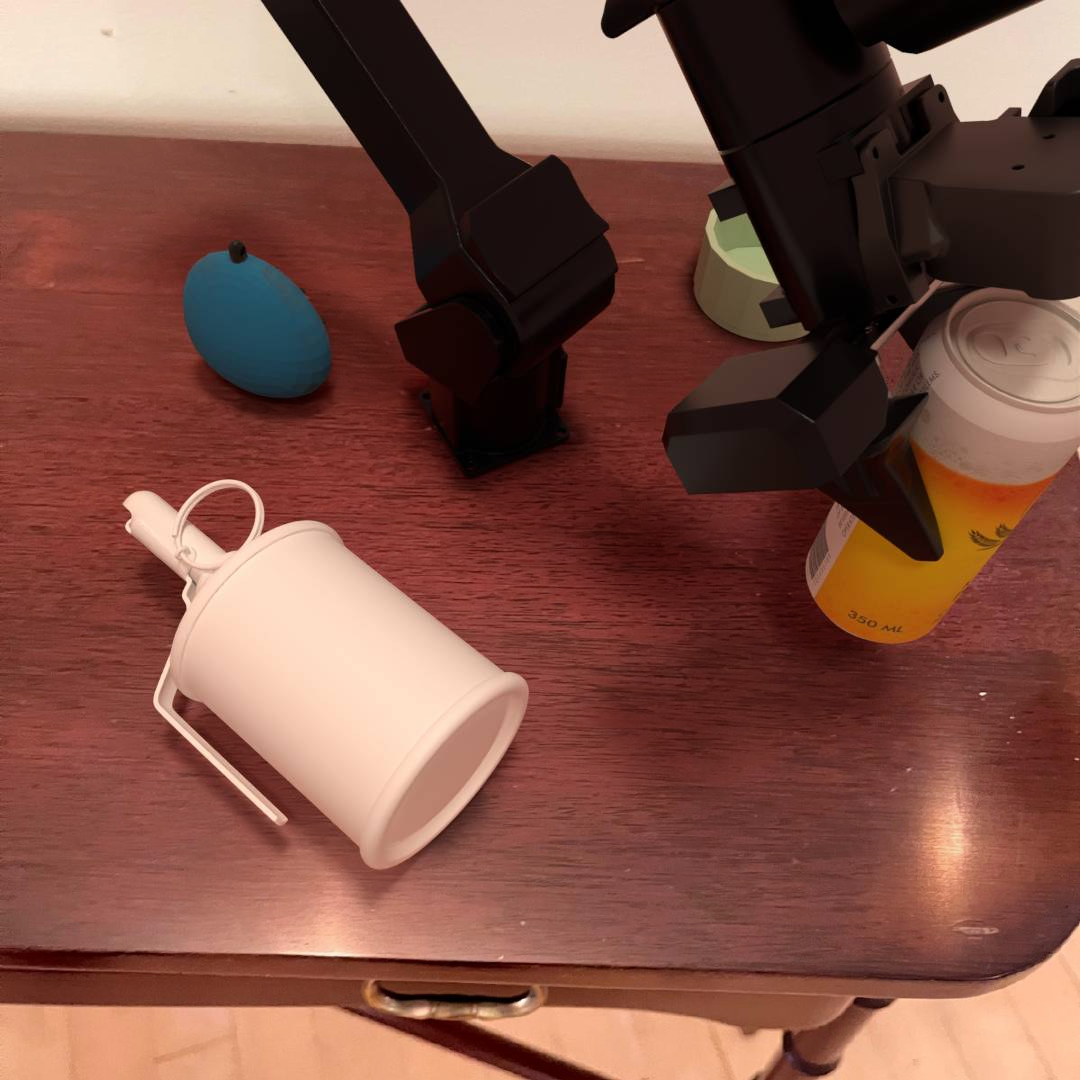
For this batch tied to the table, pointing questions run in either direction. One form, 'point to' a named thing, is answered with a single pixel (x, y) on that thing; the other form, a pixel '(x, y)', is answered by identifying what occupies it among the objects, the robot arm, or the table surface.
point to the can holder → (737, 280)
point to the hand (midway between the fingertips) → (969, 506)
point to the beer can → (961, 460)
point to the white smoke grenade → (329, 677)
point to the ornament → (255, 325)
